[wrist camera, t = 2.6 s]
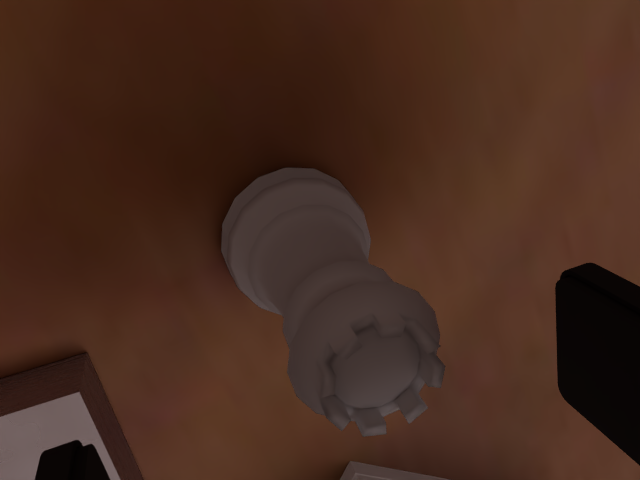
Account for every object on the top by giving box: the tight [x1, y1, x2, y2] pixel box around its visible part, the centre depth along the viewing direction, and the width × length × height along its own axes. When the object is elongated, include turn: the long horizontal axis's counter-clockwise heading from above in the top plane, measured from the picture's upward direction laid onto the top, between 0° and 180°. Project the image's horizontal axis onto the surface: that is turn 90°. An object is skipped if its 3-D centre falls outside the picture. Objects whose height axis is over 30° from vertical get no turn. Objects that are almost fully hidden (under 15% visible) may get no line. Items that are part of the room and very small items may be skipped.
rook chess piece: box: [221, 168, 445, 437], centre depth 14 cm, size 4×4×8 cm
